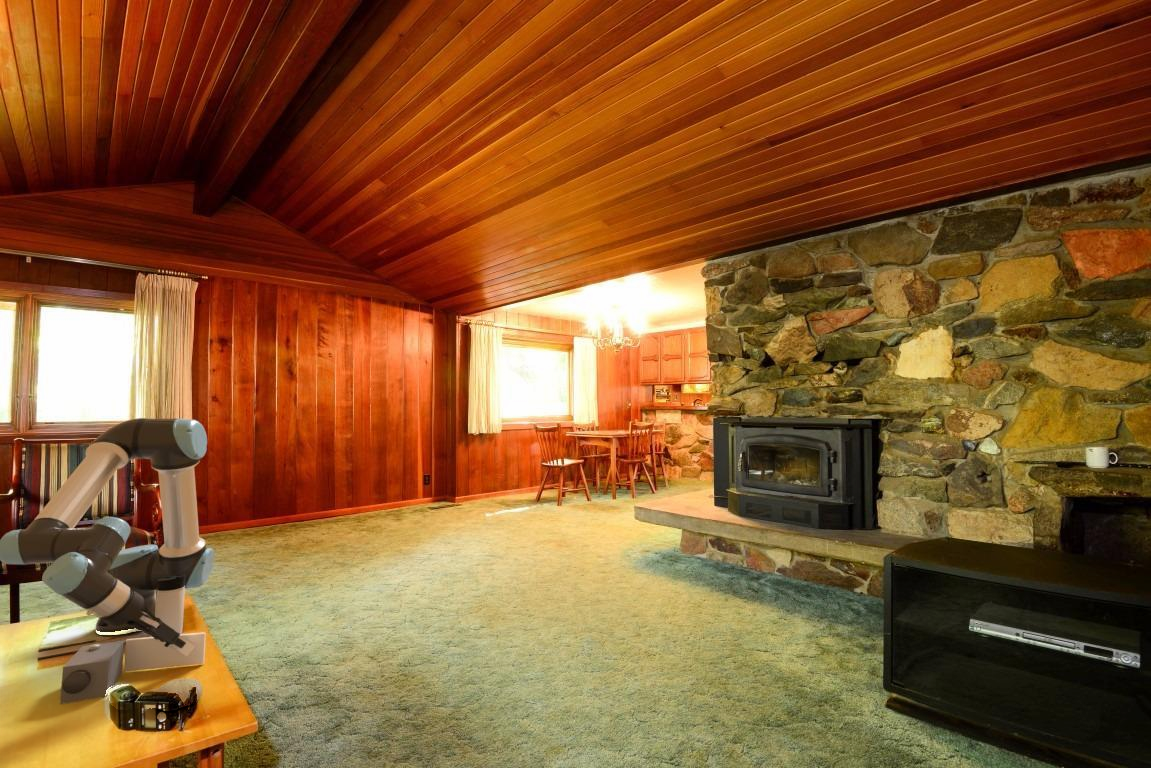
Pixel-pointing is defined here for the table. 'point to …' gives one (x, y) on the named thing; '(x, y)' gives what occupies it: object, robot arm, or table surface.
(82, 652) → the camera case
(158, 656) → the side door
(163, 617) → the travel mug
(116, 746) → the table surface
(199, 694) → the sea urchin shell
